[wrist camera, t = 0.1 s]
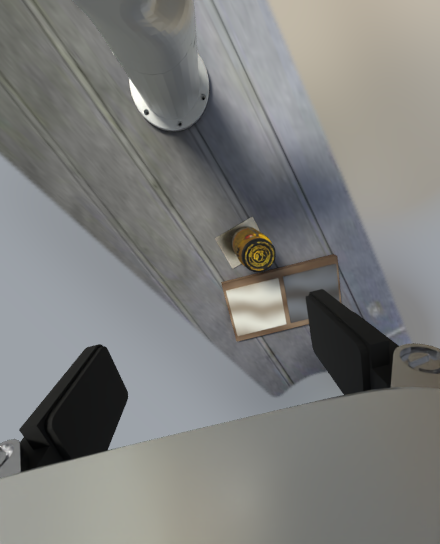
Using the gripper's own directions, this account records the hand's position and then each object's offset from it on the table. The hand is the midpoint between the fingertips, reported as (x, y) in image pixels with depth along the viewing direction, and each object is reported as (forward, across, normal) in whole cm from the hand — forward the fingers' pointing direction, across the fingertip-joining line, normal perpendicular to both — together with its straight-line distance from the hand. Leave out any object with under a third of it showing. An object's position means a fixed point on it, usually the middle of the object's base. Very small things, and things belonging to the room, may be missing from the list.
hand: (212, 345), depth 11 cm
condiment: (+37, -6, +4) cm, 38 cm away
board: (+37, -12, +18) cm, 42 cm away
